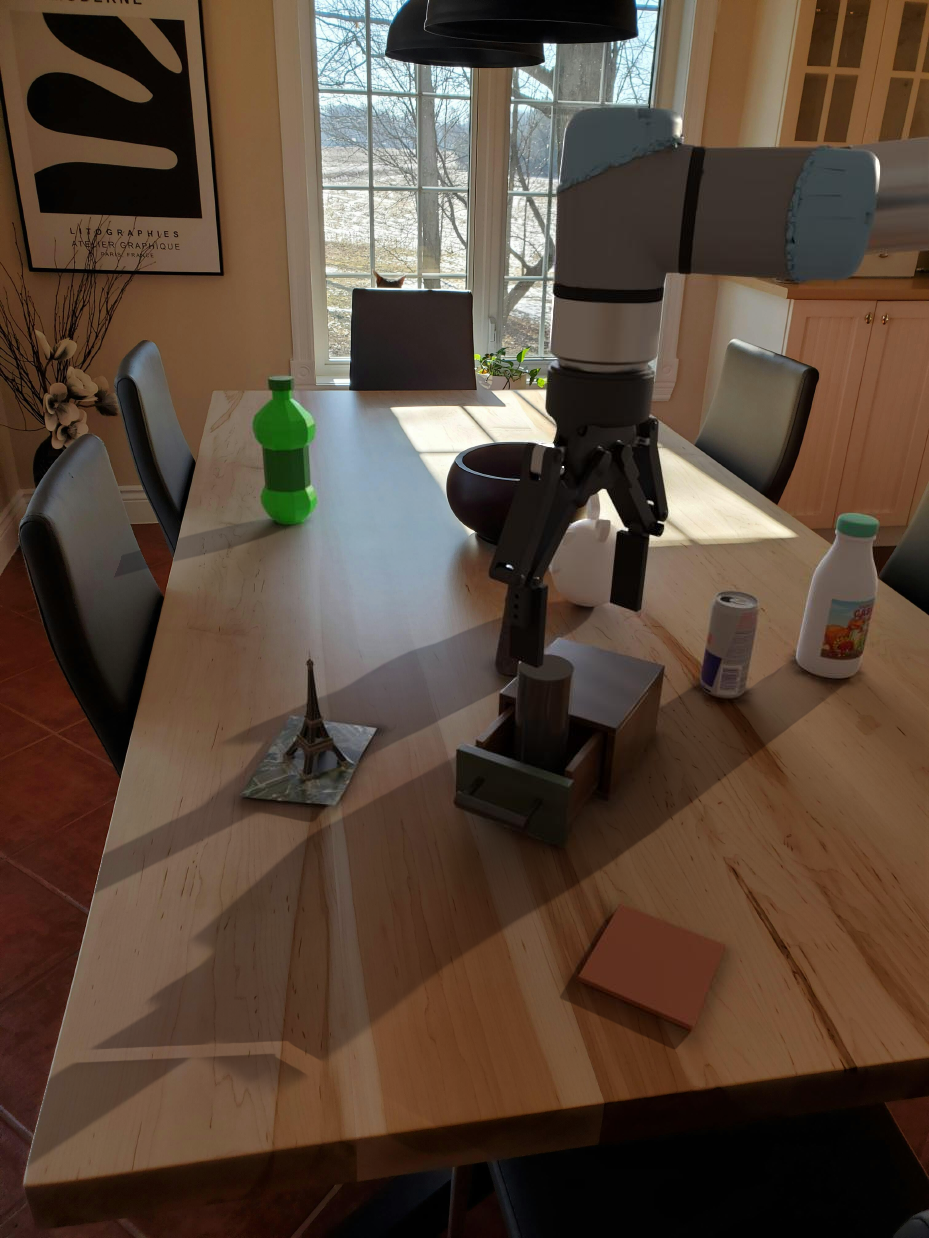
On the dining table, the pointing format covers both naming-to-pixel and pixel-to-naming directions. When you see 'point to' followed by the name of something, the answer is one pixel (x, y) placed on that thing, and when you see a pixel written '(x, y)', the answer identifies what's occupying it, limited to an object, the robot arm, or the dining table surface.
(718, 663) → the energy drink
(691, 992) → the coaster
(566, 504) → the robot arm
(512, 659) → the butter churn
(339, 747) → the eiffel tower figurine
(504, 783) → the drawer
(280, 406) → the plastic bottle
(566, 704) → the dark grey cylinder
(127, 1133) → the dining table surface
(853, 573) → the milk bottle
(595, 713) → the cabinet
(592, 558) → the piggy bank
